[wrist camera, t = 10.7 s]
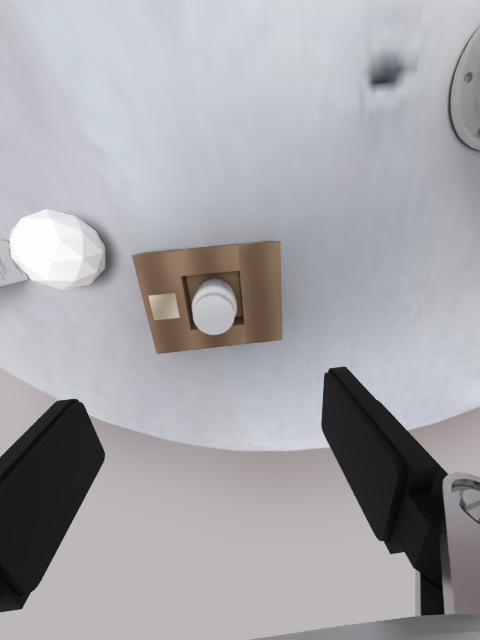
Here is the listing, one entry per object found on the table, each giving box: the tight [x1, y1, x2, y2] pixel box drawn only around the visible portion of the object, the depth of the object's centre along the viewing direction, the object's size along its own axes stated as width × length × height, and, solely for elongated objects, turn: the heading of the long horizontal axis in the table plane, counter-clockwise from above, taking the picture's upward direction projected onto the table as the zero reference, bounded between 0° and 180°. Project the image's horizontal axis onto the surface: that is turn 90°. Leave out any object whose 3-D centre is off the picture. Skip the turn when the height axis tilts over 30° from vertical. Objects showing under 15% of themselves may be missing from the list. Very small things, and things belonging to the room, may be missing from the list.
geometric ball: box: [10, 209, 105, 290], centre depth 23 cm, size 8×8×8 cm
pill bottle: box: [192, 277, 237, 335], centre depth 25 cm, size 5×5×8 cm
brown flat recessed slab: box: [132, 241, 282, 354], centre depth 28 cm, size 16×12×4 cm
